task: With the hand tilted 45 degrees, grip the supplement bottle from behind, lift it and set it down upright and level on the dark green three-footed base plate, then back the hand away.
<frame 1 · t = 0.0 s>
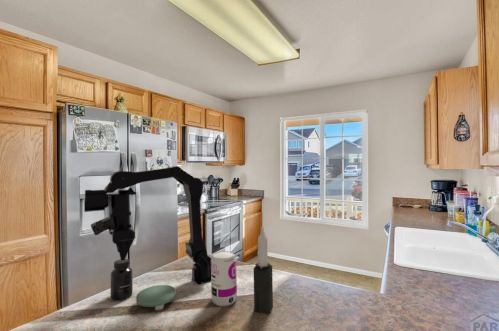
hand: (121, 255, 88), 15 cm above the countertop, fingers open, 9 cm apart
supplement bottle: (121, 296, 90), on the countertop
supplement can: (224, 301, 86), on the countertop
tribrach base plate: (156, 302, 86), on the countertop
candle: (263, 309, 81), on the countertop
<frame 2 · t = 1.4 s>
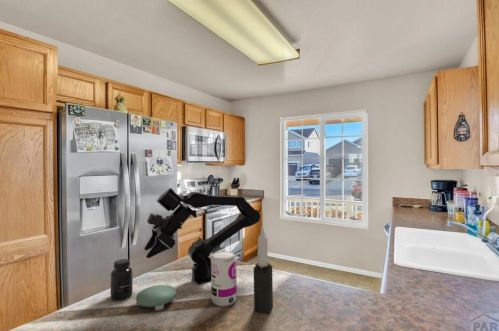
hand: (146, 253, 94), 13 cm above the countertop, fingers open, 9 cm apart
nothing on the countertop moved.
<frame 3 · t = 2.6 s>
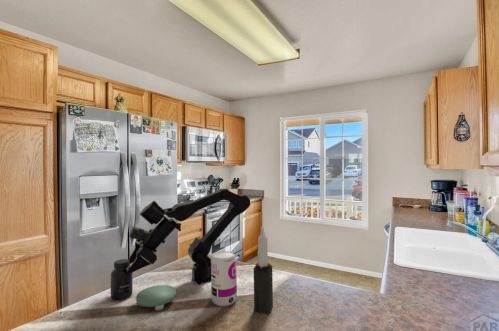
hand: (127, 268, 91), 9 cm above the countertop, fingers open, 9 cm apart
nothing on the countertop moved.
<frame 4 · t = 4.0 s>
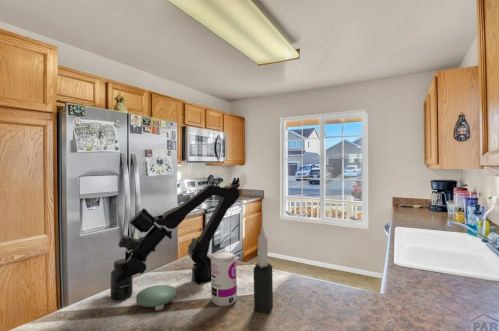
hand: (117, 277, 90), 7 cm above the countertop, fingers closed on supplement bottle, 7 cm apart
supplement bottle: (121, 296, 90), on the countertop, touching gripper
everything else where it was.
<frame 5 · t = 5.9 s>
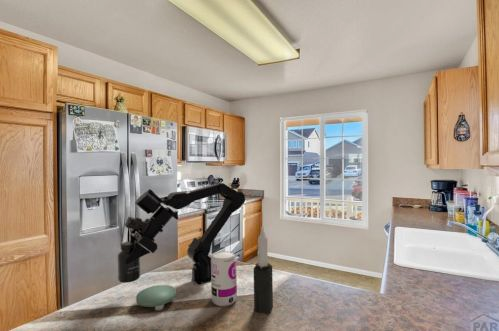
hand: (124, 259, 88), 13 cm above the countertop, fingers closed on supplement bottle, 7 cm apart
supplement bottle: (129, 279, 89), point 6 cm above the countertop, touching gripper
everything else where it was.
when the fingers open (11 cm above the countertop, at t = 8.0 s): supplement bottle drops 1 cm, resting on tribrach base plate.
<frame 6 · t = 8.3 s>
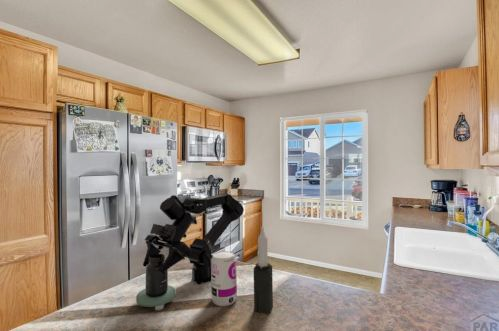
hand: (152, 269, 85), 11 cm above the countertop, fingers open, 9 cm apart
supplement bottle: (156, 293, 86), point 3 cm above the countertop, touching tribrach base plate
everything else where it was.
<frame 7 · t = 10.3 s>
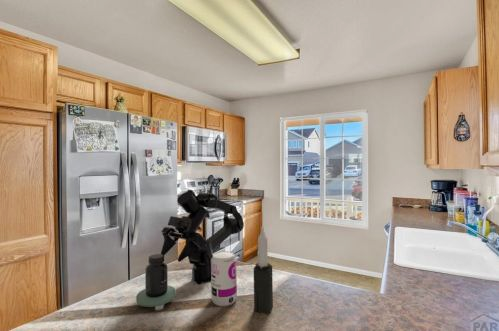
hand: (169, 258, 90), 13 cm above the countertop, fingers open, 9 cm apart
nothing on the countertop moved.
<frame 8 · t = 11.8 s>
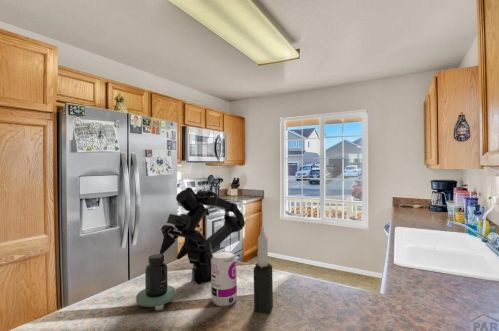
hand: (168, 256, 90), 14 cm above the countertop, fingers open, 9 cm apart
nothing on the countertop moved.
at the end: supplement bottle 0.2 cm off-centre on the tribrach base plate, point 2.8 cm above the tribrach base plate's base; supplement bottle tilted 0°; the gripper is holding nothing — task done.
